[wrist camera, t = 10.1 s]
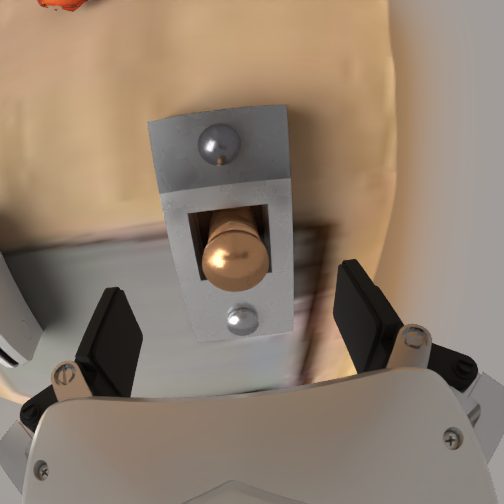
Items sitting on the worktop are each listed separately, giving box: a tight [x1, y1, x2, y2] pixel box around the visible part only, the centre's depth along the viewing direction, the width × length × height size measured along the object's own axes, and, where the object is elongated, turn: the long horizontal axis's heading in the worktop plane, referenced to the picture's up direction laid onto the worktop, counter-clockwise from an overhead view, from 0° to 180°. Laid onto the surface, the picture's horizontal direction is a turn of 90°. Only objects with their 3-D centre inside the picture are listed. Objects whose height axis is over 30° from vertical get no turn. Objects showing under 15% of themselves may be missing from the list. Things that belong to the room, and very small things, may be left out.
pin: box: [202, 206, 269, 292], centre depth 19 cm, size 4×4×7 cm
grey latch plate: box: [148, 105, 294, 342], centre depth 20 cm, size 17×8×5 cm, turn 5°
